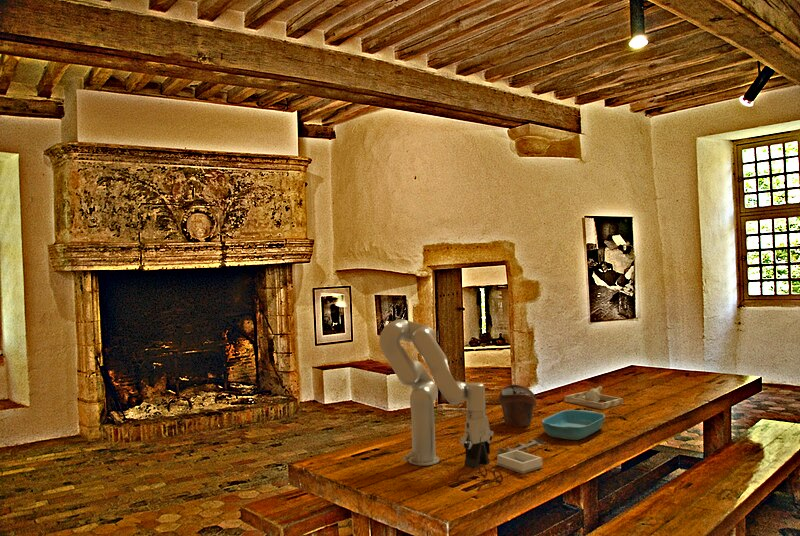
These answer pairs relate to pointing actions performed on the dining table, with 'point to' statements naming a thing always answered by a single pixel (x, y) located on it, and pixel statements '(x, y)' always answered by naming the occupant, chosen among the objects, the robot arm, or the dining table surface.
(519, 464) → the cream rectangular tray
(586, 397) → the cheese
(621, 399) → the cheese board rim
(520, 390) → the brown bucket
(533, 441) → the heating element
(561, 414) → the casserole dish
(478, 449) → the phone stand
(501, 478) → the glasses
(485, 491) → the dining table surface
